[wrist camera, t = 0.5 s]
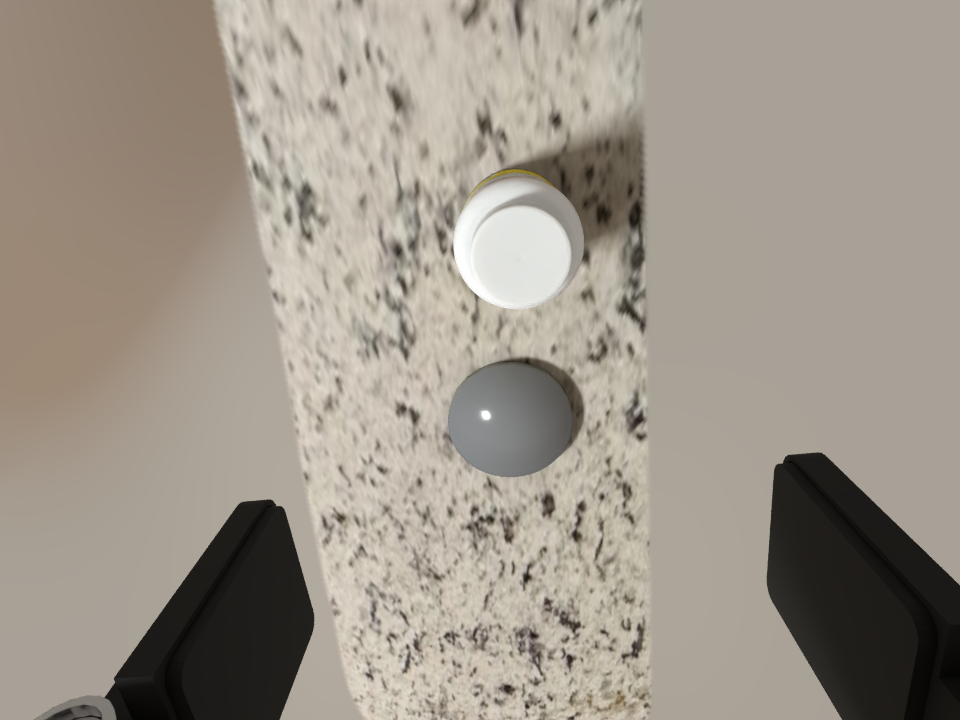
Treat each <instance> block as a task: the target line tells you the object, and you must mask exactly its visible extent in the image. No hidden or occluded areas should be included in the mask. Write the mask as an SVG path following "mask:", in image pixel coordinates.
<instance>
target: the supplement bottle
mask: <svg viewBox="0 0 960 720" xmlns="http://www.w3.org/2000/svg"><path fill="white" fill-rule="evenodd" d="M583 251H584V234H583V228H582V224H581V221H580V218H579V216H578V214H577V212H576V210H575V208H574V207H573V205H572V204H571V203H570V201H569V200H568V199H567V198H566V197H565V196H564V195H563V194H562V193H561V192H560V191H559V190H558V189H556V188H555V187H554V186H553V185H552V184H551V183H550V182H549V181H547V180H546V179H545V178H544V177H542V176H540V175H538V174H536V173H534V172H531V171H528V170H522V169H507V170H502V171H499V172H496V173H494V174H491V175H490V176H488V177H487V178H485V179H484V180H482V181H481V182H480V183H479V184H478V185H477V186H476V187H475V188H474V190H473V191H472V192H471V194H470V196H469V197H468V199H467V201H466V203H465V205H464V207H463V210H462V212H461V214H460V216H459V219H458V222H457V225H456V228H455V233H454V255H455V260H456V264H457V267H458V269H459V272H460V274H461V275H462V277H463V279H464V281H465V282H466V283H467V285H468V286H469V287H470V288H471V289H472V290H473V292H475V293H476V294H477V295H478V296H479V297H481V298H482V299H484V300H486V301H487V302H489V303H491V304H494V305H496V306H499V307H503V308H508V309H527V308H533V307H537V306H539V305H542V304H544V303H547V302H548V301H550V300H552V299H554V298H555V297H556V296H558V295H559V294H560V293H561V292H563V291H564V290H565V289H566V288H567V286H568V285H569V284H570V283H571V281H572V280H573V278H574V277H575V275H576V273H577V271H578V269H579V266H580V264H581V261H582V257H583Z"/></svg>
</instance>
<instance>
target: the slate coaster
mask: <svg viewBox="0 0 960 720" xmlns="http://www.w3.org/2000/svg"><path fill="white" fill-rule="evenodd" d="M572 426H573V417H572V411H571V407H570V403H569V400H568V397H567V395H566V393H565V391H564V389H563V388H562V386H561V385H560V384H559V383H558V381H557V380H556V379H555V378H554V377H552V376H551V375H550V374H549V373H547V372H546V371H544V370H543V369H540V368H538V367H536V366H534V365H531V364H527V363H522V362H514V361H508V362H498V363H494V364H490V365H487V366H485V367H482V368H480V369H478V370H477V371H475V372H473V373H472V374H471V375H469V376H468V377H467V378H466V379H465V380H464V381H463V382H462V383H461V384H460V386H459V387H458V389H457V390H456V392H455V394H454V396H453V399H452V401H451V405H450V410H449V416H448V427H449V433H450V437H451V440H452V442H453V444H454V446H455V448H456V450H457V451H458V452H459V454H460V455H461V456H462V457H463V458H464V459H465V460H466V461H467V462H468V463H470V464H471V465H472V466H474V467H475V468H477V469H479V470H481V471H483V472H485V473H488V474H492V475H496V476H501V477H519V476H525V475H529V474H532V473H535V472H537V471H540V470H541V469H543V468H545V467H547V466H548V465H550V464H551V463H552V462H553V461H555V460H556V459H557V458H558V457H559V455H560V454H561V453H562V452H563V450H564V449H565V447H566V446H567V443H568V441H569V439H570V436H571V432H572Z"/></svg>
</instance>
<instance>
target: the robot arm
mask: <svg viewBox="0 0 960 720" xmlns="http://www.w3.org/2000/svg"><path fill="white" fill-rule="evenodd" d="M767 587H768V592H769V595H770V597H771V600H772V602H773V603H774V605H775V607H776V609H777V610H778V612H779V614H780V615H781V617H782V619H783V620H784V622H785V624H786V626H787V627H788V629H789V630H790V632H791V634H792V636H793V637H794V639H795V641H796V642H797V644H798V646H799V648H800V649H801V651H802V652H803V654H804V656H805V658H806V659H807V661H808V663H809V664H810V666H811V668H812V670H813V671H814V673H815V675H816V676H817V678H818V680H819V681H820V683H821V685H822V686H823V688H824V690H825V691H826V693H827V695H828V696H829V698H830V700H831V702H832V703H833V705H834V706H835V708H836V710H837V712H838V713H839V715H840V717H841V718H842V720H960V585H959V584H958V583H957V582H956V581H955V580H954V579H953V578H952V577H951V576H949V574H948V573H946V571H944V570H943V569H942V568H941V567H940V566H939V565H938V564H937V563H936V562H935V561H934V560H933V559H932V558H931V557H930V556H929V555H928V554H927V553H926V552H925V551H924V550H923V549H922V548H921V547H920V546H919V545H918V544H916V543H915V542H914V541H913V540H912V539H911V538H910V537H909V536H908V535H907V534H906V533H905V532H904V531H903V530H902V529H901V528H900V527H899V526H898V525H897V524H896V523H895V522H894V521H893V520H892V519H891V518H890V517H889V516H888V515H886V514H885V513H884V512H883V511H882V510H881V509H880V508H879V507H878V506H877V505H876V504H875V503H874V502H873V501H872V500H871V499H870V498H869V497H868V496H867V495H866V494H865V493H864V492H863V491H862V490H861V489H859V488H858V487H857V486H856V485H855V484H854V483H853V482H852V481H851V480H850V479H849V478H848V477H847V476H846V475H845V474H844V473H843V472H842V471H841V470H840V469H839V468H838V467H837V466H836V465H835V464H834V463H833V462H832V461H831V460H830V459H828V458H827V457H826V456H825V455H824V454H822V453H807V454H795V455H788V456H786V457H785V459H784V461H783V464H777V465H776V467H775V470H774V480H773V495H772V510H771V525H770V540H769V554H768V570H767ZM313 627H314V612H313V608H312V605H311V601H310V598H309V594H308V591H307V587H306V584H305V580H304V577H303V573H302V569H301V566H300V562H299V559H298V555H297V552H296V548H295V545H294V541H293V537H292V534H291V530H290V527H289V523H288V520H287V516H286V513H285V510H284V508H283V507H281V506H276V504H275V503H274V502H273V501H272V500H259V501H247V502H242V503H240V504H239V505H238V506H237V507H236V508H235V510H234V511H233V513H232V514H231V515H230V517H229V518H228V520H227V521H226V522H225V524H224V525H223V527H222V528H221V530H220V531H219V532H218V534H217V535H216V536H215V538H214V539H213V541H212V542H211V543H210V545H209V546H208V548H207V549H206V550H205V552H204V553H203V555H202V556H201V557H200V559H199V560H198V562H197V563H196V564H195V566H194V567H193V569H192V570H191V571H190V573H189V574H188V575H187V577H186V578H185V580H184V581H183V582H182V584H181V585H180V587H179V588H178V589H177V591H176V593H175V594H174V595H173V596H172V598H171V599H170V601H169V602H168V603H167V605H166V606H165V608H164V609H163V611H162V612H161V613H160V615H159V616H158V618H157V619H156V620H155V622H154V623H153V624H152V626H151V627H150V629H149V630H148V631H147V633H146V634H145V636H144V637H143V638H142V640H141V641H140V643H139V644H138V646H137V647H136V648H135V649H134V651H133V652H132V654H131V655H130V656H129V658H128V659H127V661H126V662H125V663H124V665H123V667H122V668H121V669H120V670H119V672H118V673H117V675H116V676H115V678H114V680H115V684H114V685H113V686H112V688H111V689H110V691H109V692H108V694H107V695H106V696H105V698H103V697H101V696H84V697H79V698H75V699H71V700H69V701H66V702H64V703H62V704H60V705H57V706H55V707H53V708H51V709H50V710H48V711H47V712H45V713H43V714H42V715H40V716H39V717H37V718H35V719H34V720H279V719H280V717H281V714H282V711H283V709H284V706H285V704H286V701H287V699H288V696H289V693H290V691H291V688H292V685H293V682H294V680H295V677H296V675H297V672H298V669H299V667H300V664H301V661H302V659H303V656H304V653H305V651H306V648H307V646H308V643H309V641H310V638H311V635H312V632H313Z"/></svg>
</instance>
